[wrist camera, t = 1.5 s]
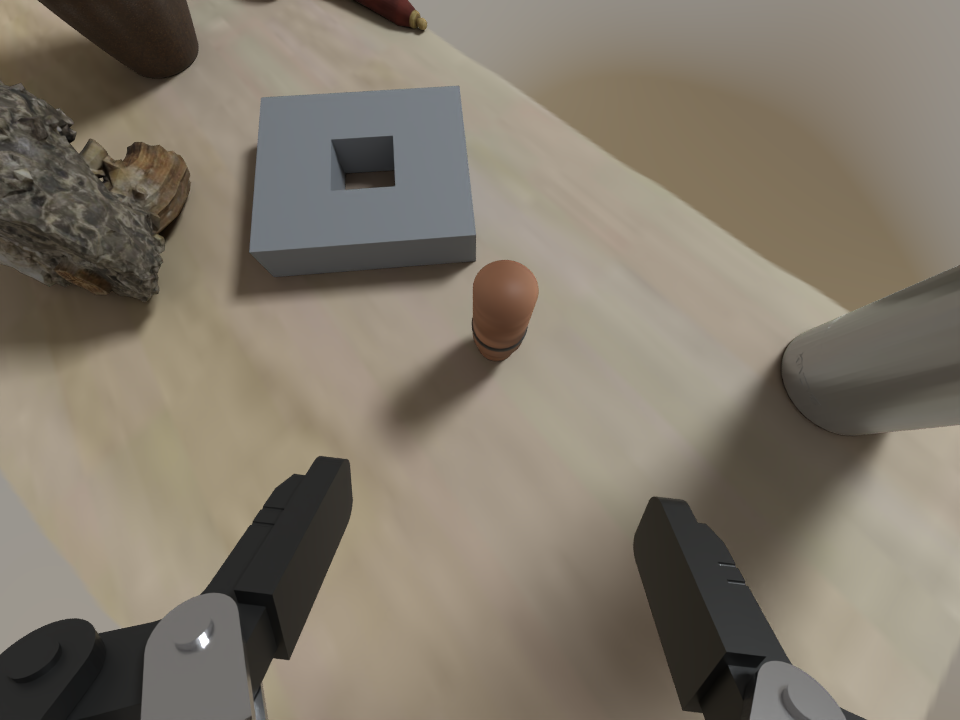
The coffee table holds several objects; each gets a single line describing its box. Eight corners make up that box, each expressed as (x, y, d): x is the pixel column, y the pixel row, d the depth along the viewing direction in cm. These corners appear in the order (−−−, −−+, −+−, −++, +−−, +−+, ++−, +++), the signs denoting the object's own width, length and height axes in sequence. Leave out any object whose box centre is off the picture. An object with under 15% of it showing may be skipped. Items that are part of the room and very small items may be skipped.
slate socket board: (460, 123, 40) (459, 85, 36) (475, 260, 36) (475, 234, 32) (281, 134, 39) (261, 97, 36) (273, 277, 35) (249, 252, 31)
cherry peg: (517, 318, 34) (534, 256, 25) (523, 364, 33) (544, 317, 23) (469, 322, 34) (468, 261, 24) (474, 368, 33) (474, 323, 23)
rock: (-392, 160, 17) (-190, -110, 19) (-149, 203, 29) (-36, 35, 30) (126, 341, 28) (230, 162, 29) (150, 318, 40) (223, 191, 41)
